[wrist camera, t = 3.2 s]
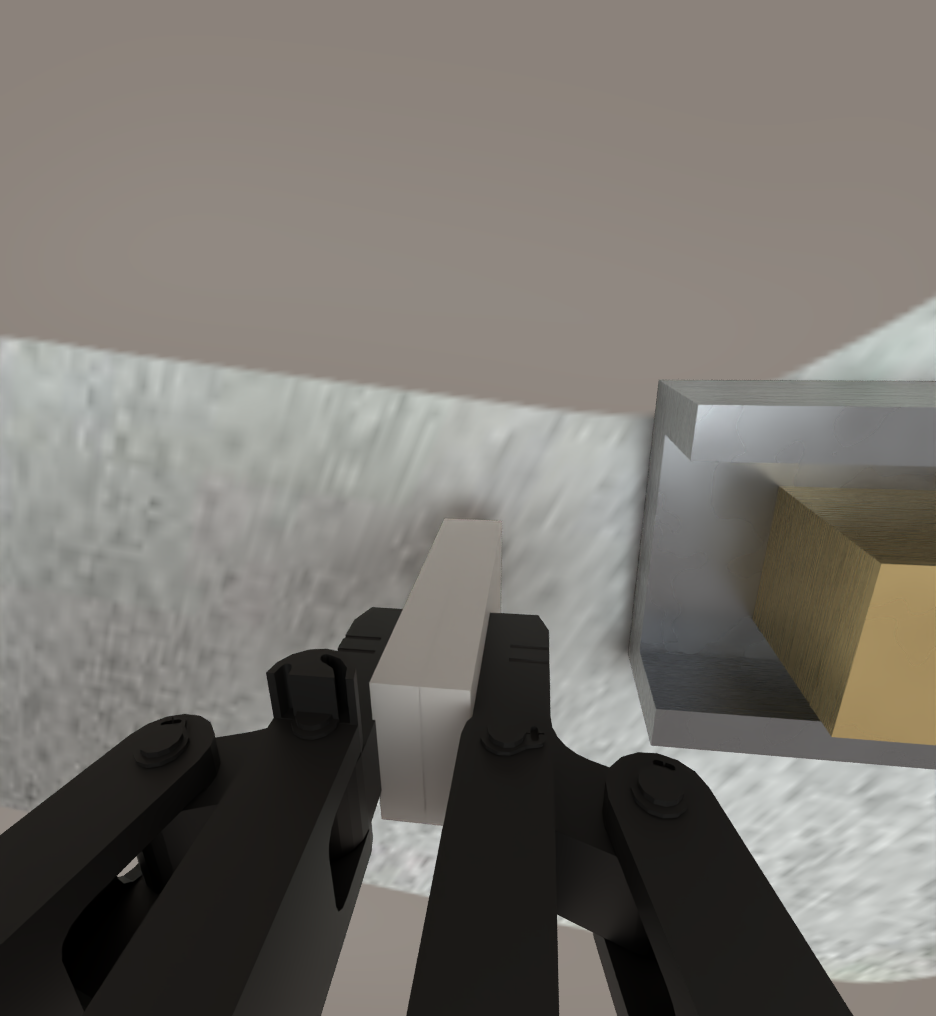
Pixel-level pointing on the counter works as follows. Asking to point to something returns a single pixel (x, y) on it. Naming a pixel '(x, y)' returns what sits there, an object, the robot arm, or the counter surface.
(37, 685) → the counter surface
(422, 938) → the robot arm
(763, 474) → the slot rail
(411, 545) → the counter surface
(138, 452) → the counter surface
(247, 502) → the counter surface
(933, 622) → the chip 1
